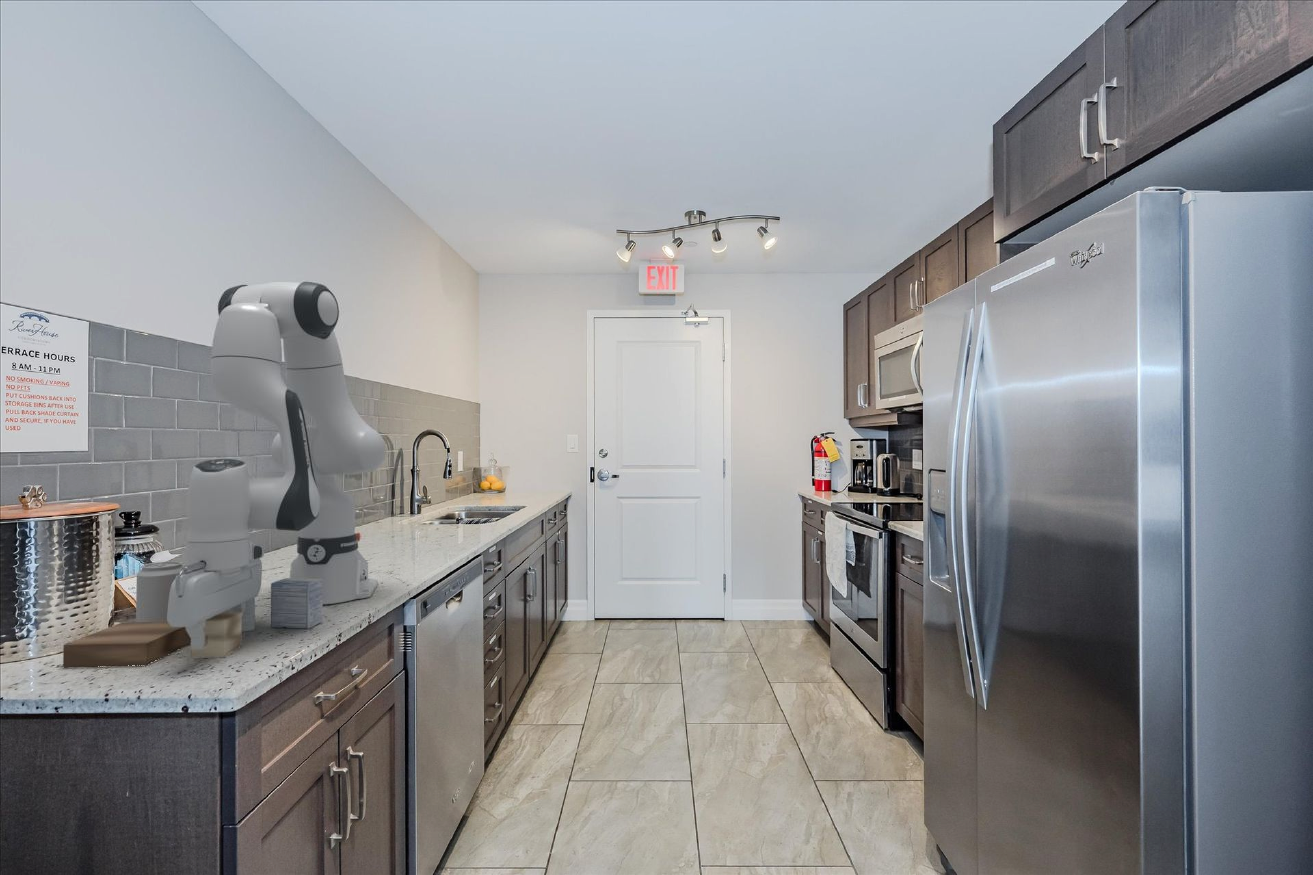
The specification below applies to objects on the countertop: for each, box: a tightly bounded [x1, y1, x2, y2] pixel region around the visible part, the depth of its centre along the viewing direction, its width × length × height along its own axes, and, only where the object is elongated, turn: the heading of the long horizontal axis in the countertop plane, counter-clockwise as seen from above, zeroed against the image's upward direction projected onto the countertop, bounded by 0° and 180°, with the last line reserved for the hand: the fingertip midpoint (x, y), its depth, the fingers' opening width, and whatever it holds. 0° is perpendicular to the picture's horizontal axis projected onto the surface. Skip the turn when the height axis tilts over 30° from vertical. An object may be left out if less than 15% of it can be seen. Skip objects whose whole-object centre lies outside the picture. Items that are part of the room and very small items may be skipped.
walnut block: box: [62, 621, 191, 668], centre depth 103 cm, size 12×12×4 cm
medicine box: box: [270, 577, 324, 629], centre depth 120 cm, size 8×4×9 cm, turn 84°
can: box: [135, 560, 184, 622], centre depth 118 cm, size 8×8×12 cm
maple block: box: [191, 612, 242, 659], centre depth 104 cm, size 5×5×6 cm
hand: (217, 638), depth 104 cm, fingers open, 8 cm apart
